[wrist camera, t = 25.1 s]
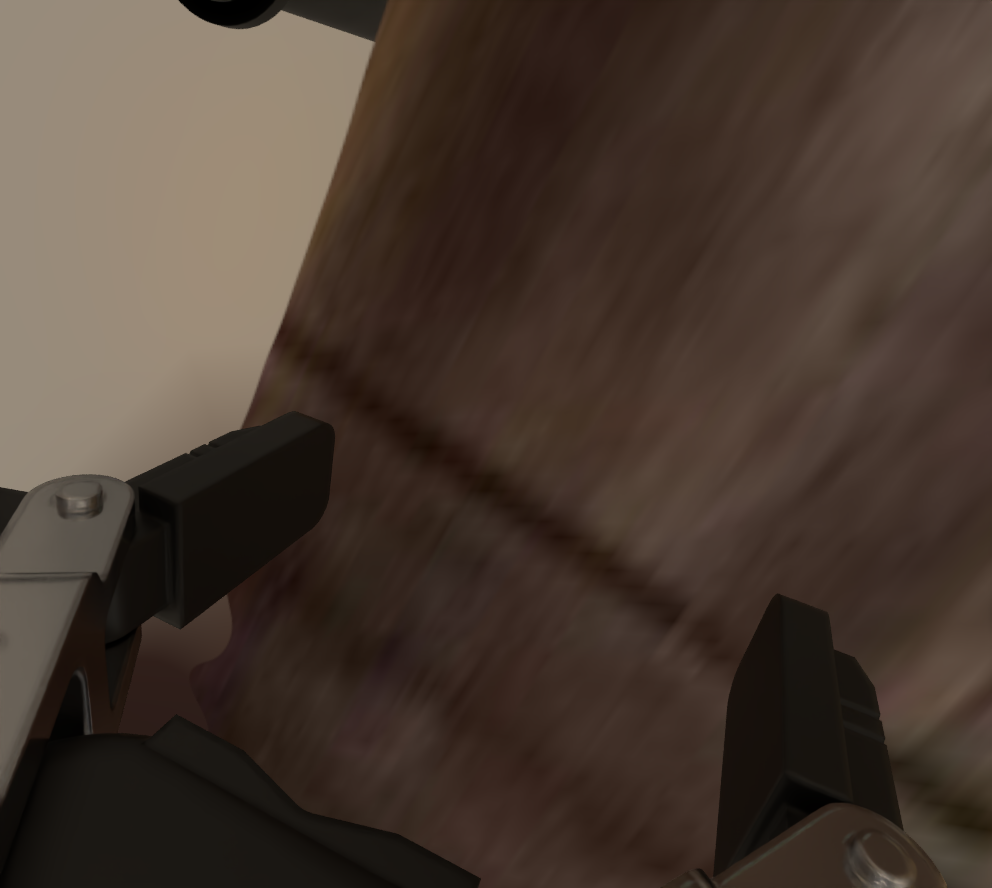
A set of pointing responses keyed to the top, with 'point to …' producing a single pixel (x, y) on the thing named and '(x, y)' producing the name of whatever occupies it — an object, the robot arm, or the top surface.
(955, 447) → the top surface
